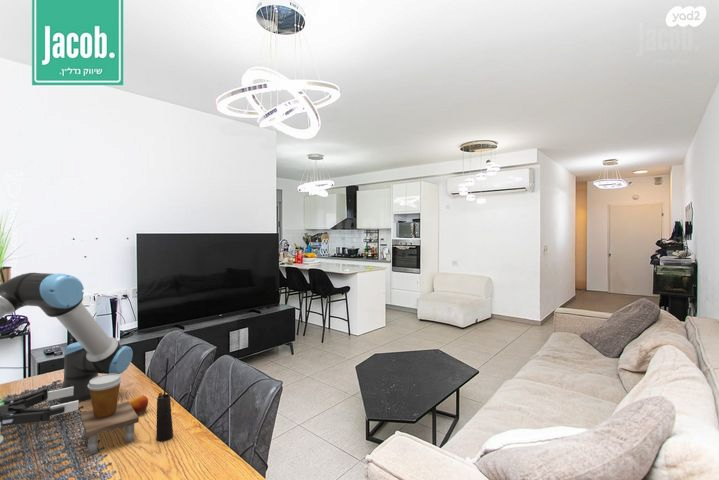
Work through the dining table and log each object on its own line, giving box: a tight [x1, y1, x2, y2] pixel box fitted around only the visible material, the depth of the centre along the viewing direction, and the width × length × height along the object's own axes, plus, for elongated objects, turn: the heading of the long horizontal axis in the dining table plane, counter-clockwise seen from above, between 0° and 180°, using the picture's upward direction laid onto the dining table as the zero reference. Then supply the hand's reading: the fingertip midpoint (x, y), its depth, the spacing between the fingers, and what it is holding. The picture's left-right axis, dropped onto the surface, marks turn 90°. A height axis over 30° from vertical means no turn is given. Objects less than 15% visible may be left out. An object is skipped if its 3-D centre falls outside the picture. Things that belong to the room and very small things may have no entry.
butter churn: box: [155, 358, 174, 443], centre depth 121 cm, size 9×10×28 cm
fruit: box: [127, 394, 149, 417], centre depth 136 cm, size 8×8×8 cm
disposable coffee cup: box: [88, 374, 123, 418], centre depth 120 cm, size 10×10×12 cm
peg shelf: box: [79, 400, 140, 456], centre depth 119 cm, size 16×14×8 cm
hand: (75, 397), depth 113 cm, fingers open, 13 cm apart
